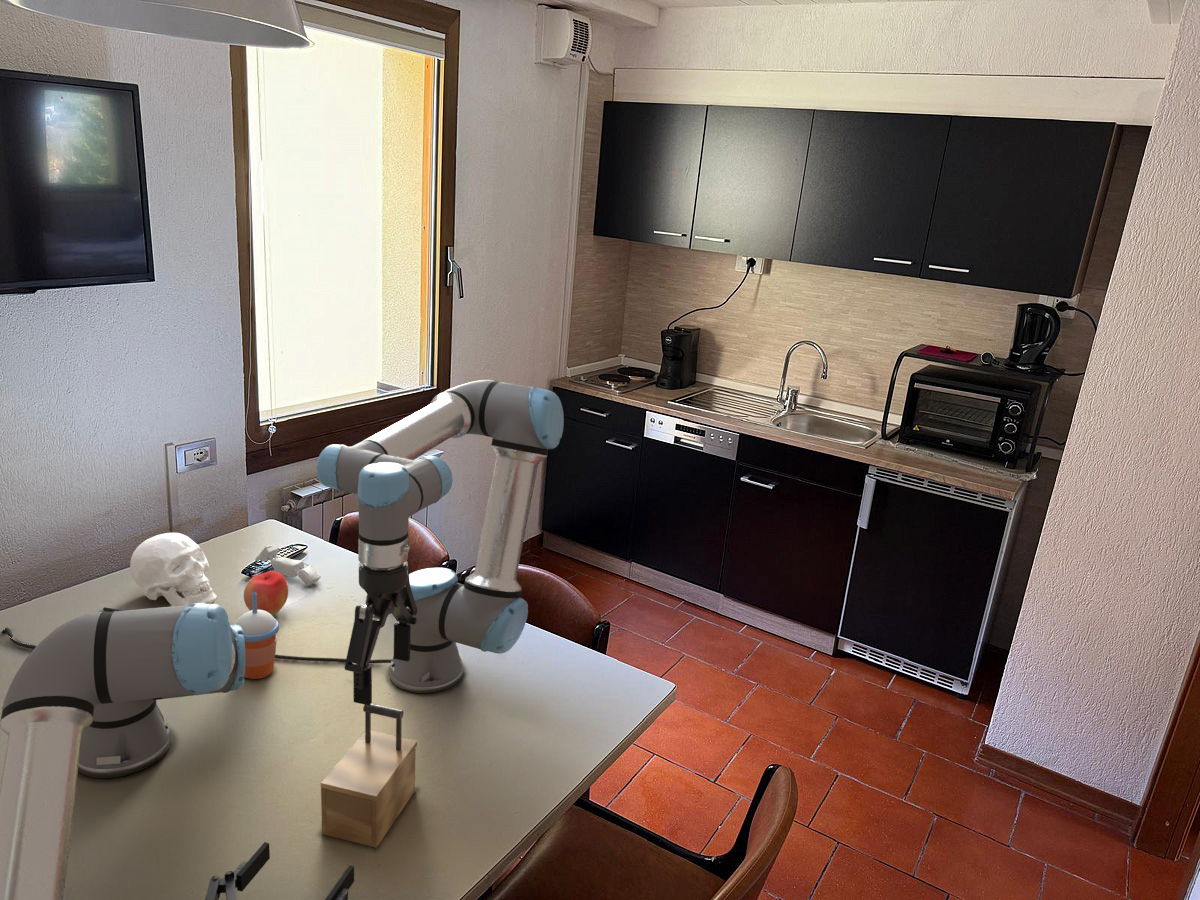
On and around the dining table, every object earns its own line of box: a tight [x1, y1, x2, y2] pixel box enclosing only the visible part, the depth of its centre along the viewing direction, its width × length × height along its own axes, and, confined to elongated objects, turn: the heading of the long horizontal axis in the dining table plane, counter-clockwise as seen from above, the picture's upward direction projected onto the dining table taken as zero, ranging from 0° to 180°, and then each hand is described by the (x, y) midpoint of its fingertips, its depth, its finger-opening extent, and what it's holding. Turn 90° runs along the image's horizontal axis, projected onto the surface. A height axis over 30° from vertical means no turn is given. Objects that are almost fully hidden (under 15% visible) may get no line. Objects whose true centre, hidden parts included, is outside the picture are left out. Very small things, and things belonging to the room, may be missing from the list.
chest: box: [320, 747, 417, 849], centre depth 141 cm, size 14×10×9 cm
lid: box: [320, 703, 418, 801], centre depth 139 cm, size 15×10×8 cm, turn 167°
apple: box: [243, 570, 289, 617], centre depth 199 cm, size 10×10×10 cm
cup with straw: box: [233, 592, 280, 680], centre depth 176 cm, size 9×9×18 cm
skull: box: [129, 532, 217, 607], centre depth 203 cm, size 13×22×16 cm, turn 73°
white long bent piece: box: [254, 544, 322, 587], centre depth 219 cm, size 20×4×7 cm, turn 62°
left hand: (309, 861), depth 123 cm, fingers open, 13 cm apart
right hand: (383, 680), depth 140 cm, fingers open, 13 cm apart
